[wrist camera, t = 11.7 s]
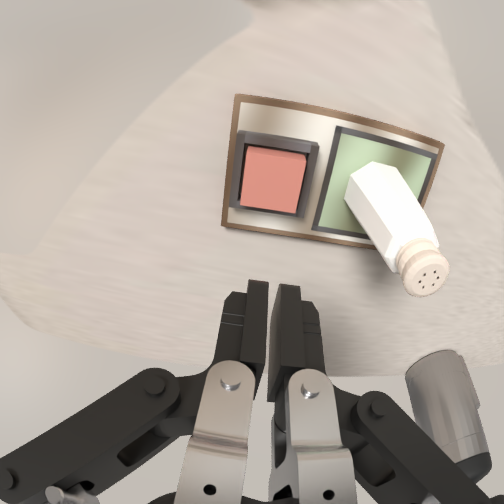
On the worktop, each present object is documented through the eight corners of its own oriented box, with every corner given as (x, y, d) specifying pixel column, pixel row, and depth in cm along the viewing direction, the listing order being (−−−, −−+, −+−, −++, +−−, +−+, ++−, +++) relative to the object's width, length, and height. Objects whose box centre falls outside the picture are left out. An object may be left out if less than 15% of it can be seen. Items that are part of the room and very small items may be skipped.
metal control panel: (439, 141, 21) (452, 149, 19) (400, 248, 27) (408, 263, 25) (236, 93, 20) (232, 96, 18) (222, 220, 27) (218, 234, 25)
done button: (304, 154, 21) (306, 161, 20) (293, 203, 23) (295, 213, 22) (248, 145, 21) (246, 152, 20) (242, 196, 23) (240, 205, 22)
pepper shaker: (347, 226, 25) (380, 325, 16) (338, 166, 22) (381, 246, 13) (406, 215, 24) (462, 304, 15) (403, 156, 21) (477, 227, 12)
